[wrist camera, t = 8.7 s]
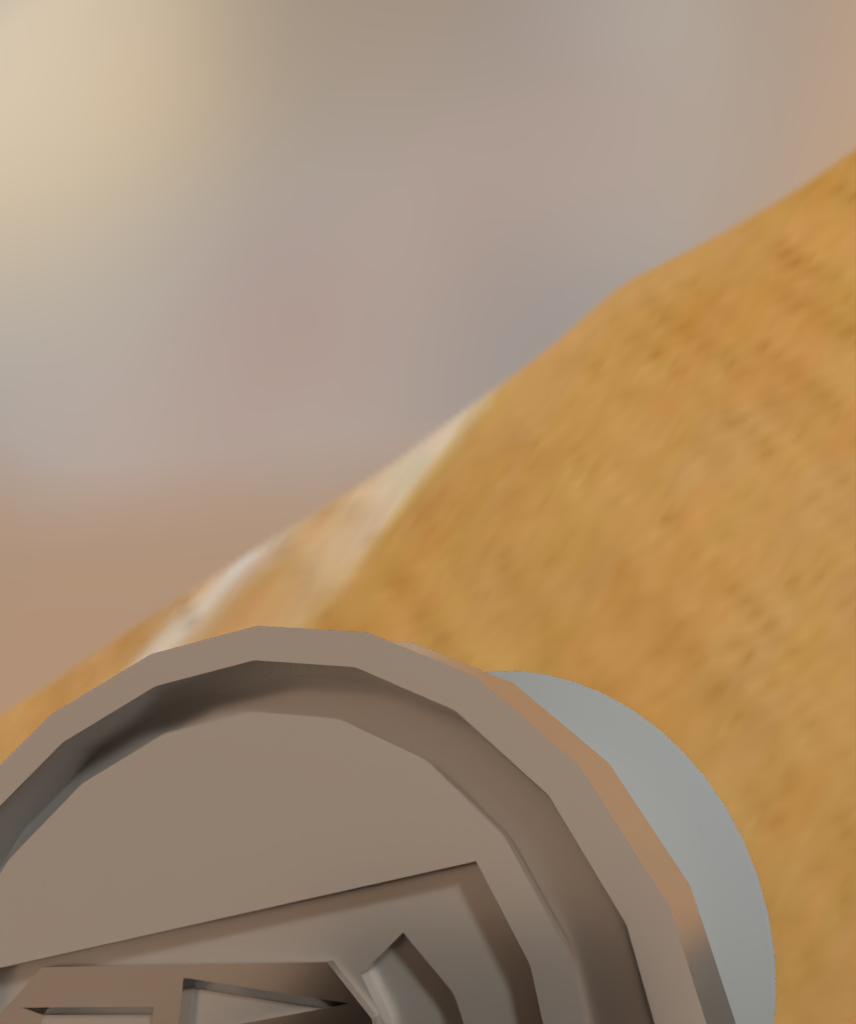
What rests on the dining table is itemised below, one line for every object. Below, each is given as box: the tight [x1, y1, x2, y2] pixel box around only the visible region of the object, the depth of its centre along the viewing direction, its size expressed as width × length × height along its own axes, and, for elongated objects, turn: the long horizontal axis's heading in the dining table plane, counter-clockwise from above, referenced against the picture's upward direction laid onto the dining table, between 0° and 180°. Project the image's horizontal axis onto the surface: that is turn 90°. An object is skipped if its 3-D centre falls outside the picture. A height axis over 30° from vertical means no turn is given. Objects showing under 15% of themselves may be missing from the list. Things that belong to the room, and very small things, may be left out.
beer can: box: [0, 626, 736, 1024], centre depth 9 cm, size 5×5×12 cm
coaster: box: [486, 671, 776, 1024], centre depth 14 cm, size 10×10×1 cm
